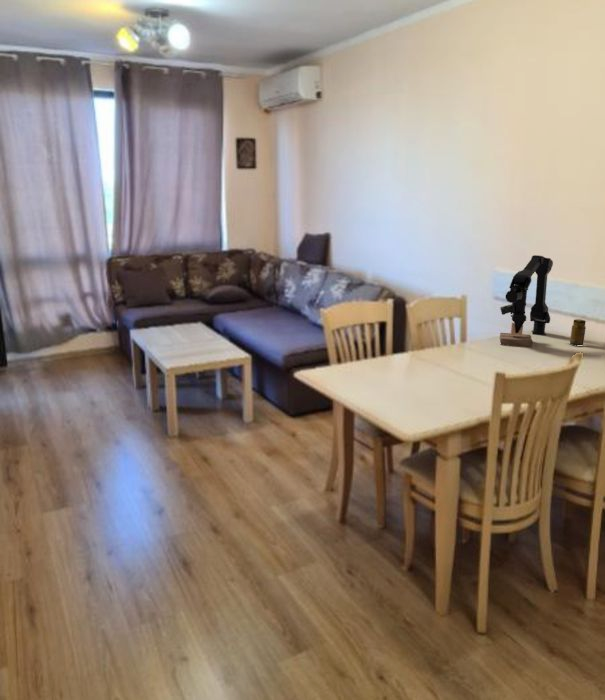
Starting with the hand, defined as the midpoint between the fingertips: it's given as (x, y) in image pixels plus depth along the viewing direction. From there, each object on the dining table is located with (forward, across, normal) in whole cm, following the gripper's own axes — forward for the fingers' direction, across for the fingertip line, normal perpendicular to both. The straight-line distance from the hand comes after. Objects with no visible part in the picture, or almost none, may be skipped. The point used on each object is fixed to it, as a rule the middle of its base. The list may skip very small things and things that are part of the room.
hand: (516, 331), depth 293 cm
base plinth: (+6, 0, 0) cm, 6 cm away
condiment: (+6, -6, +29) cm, 30 cm away
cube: (+1, 0, 0) cm, 1 cm away
